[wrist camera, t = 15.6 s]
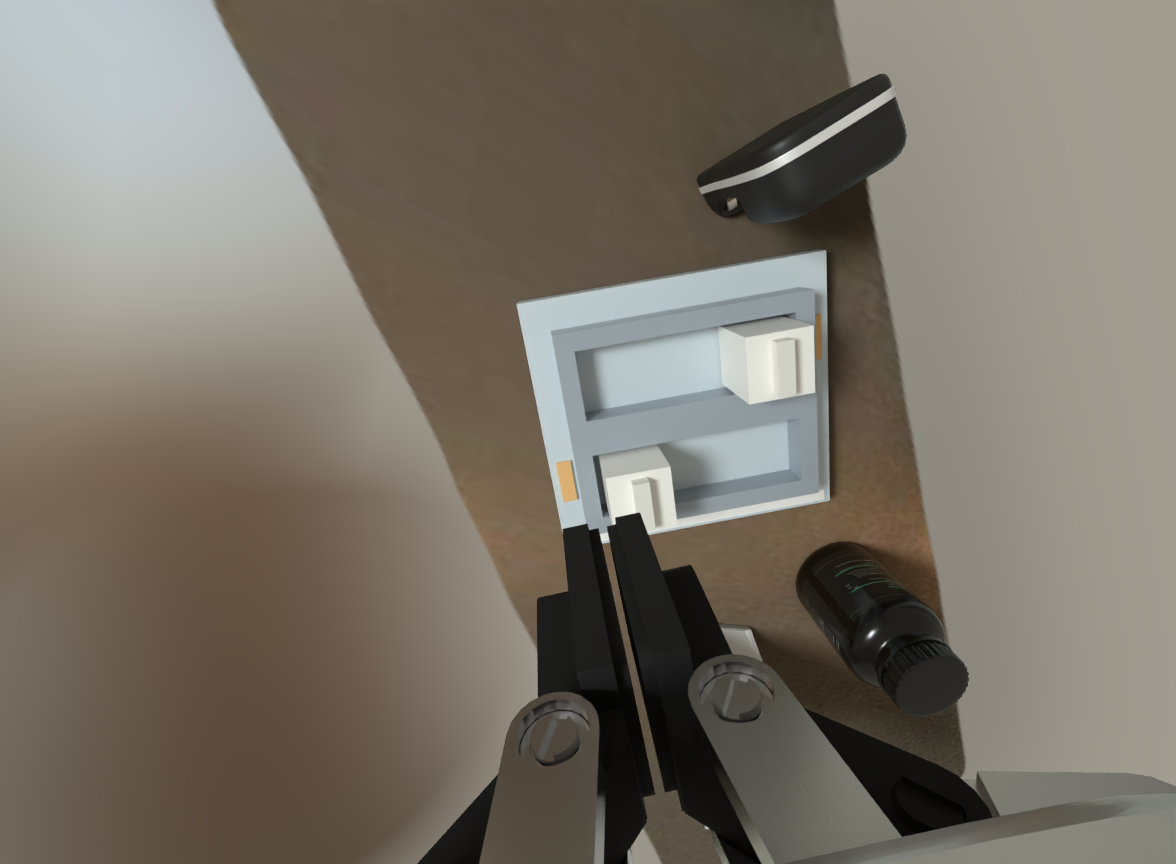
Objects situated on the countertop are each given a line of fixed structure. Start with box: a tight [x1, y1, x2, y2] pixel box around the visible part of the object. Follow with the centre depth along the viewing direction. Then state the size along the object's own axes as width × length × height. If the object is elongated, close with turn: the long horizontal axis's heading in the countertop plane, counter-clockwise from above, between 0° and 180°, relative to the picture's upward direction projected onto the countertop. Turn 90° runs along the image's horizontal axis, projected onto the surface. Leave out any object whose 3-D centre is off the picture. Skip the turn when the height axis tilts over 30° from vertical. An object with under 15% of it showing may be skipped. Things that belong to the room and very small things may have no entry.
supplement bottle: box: [796, 543, 969, 717], centre depth 39 cm, size 7×7×12 cm
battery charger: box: [697, 74, 907, 224], centre depth 29 cm, size 7×4×11 cm, turn 121°
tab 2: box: [718, 315, 815, 405], centre depth 34 cm, size 4×4×6 cm
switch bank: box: [517, 250, 830, 544], centre depth 37 cm, size 18×20×4 cm
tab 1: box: [598, 444, 677, 531], centre depth 36 cm, size 4×4×6 cm
